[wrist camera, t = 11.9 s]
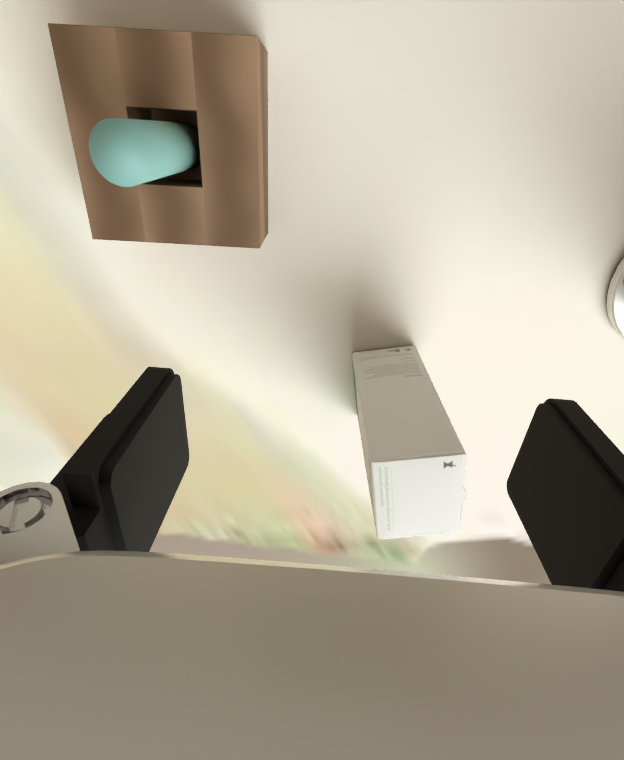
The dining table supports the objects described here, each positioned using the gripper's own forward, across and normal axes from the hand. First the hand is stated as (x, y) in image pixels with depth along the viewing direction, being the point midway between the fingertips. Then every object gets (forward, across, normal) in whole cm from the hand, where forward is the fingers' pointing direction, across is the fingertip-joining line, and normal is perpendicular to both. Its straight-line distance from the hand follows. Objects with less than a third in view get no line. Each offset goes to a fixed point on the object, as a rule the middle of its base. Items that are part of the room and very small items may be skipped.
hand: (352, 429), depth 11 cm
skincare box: (+28, -6, +14) cm, 32 cm away
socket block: (+27, +12, -5) cm, 30 cm away
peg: (+26, +12, -5) cm, 29 cm away
